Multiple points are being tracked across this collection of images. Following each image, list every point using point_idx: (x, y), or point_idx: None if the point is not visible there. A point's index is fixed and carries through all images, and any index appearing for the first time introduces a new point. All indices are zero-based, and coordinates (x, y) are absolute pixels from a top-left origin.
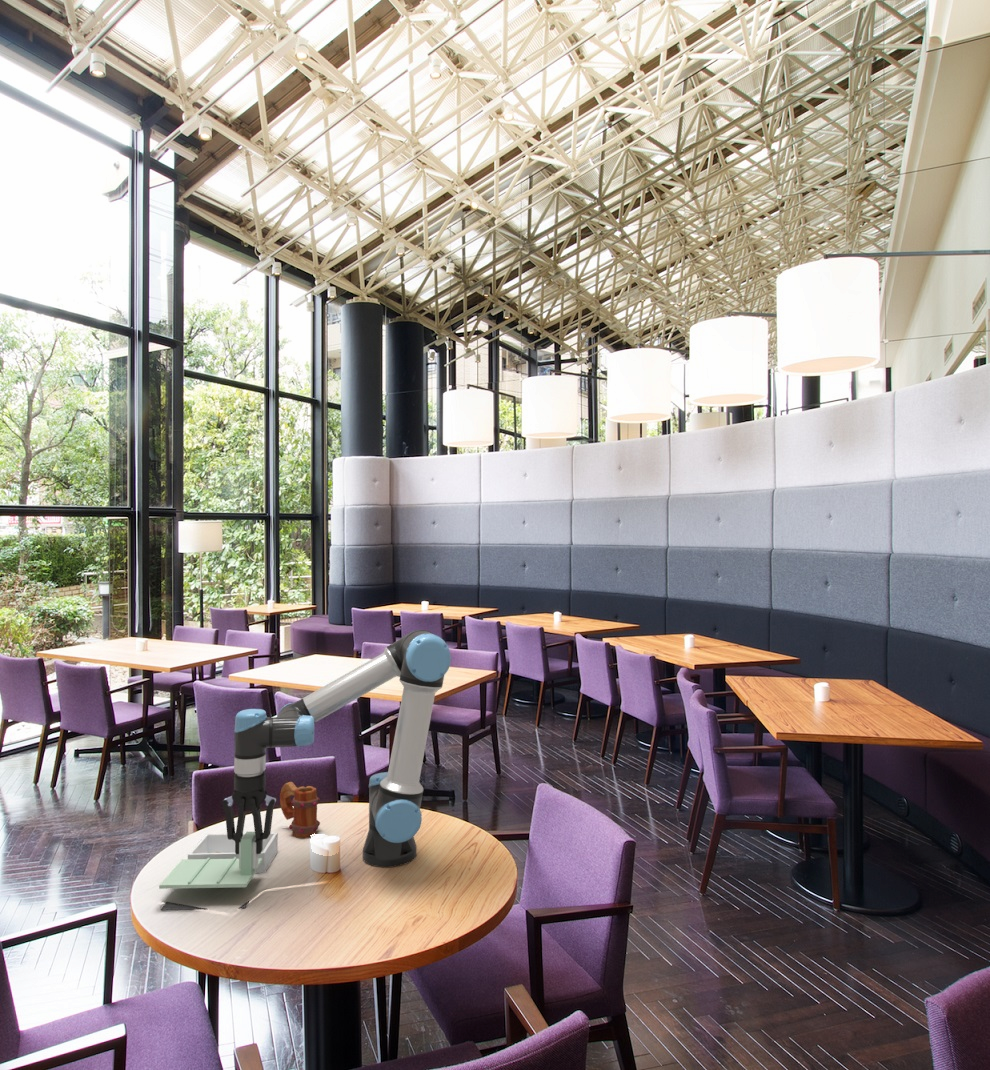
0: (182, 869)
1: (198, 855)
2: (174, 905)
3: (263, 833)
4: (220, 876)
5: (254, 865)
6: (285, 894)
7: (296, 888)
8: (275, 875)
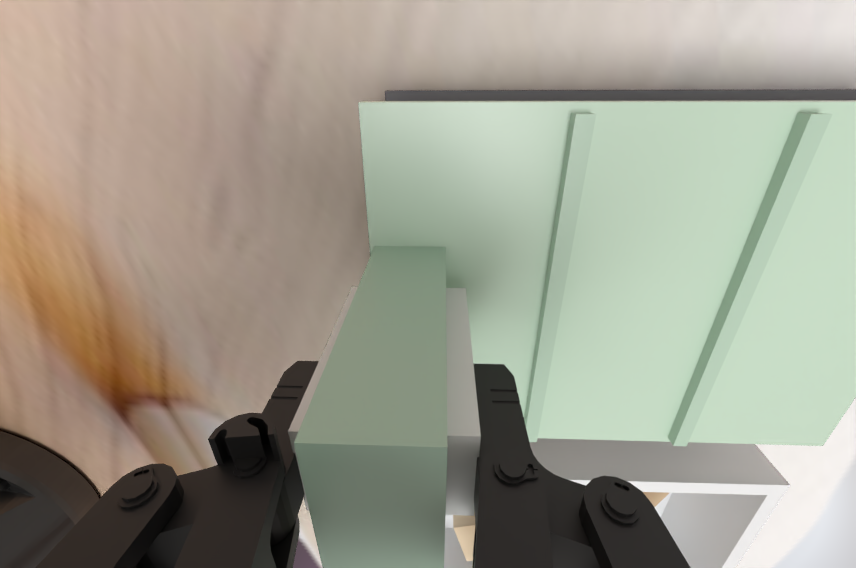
0: (834, 339)
1: (729, 479)
2: None
3: (138, 538)
4: (577, 206)
5: (353, 296)
6: (242, 235)
7: (219, 287)
8: None
